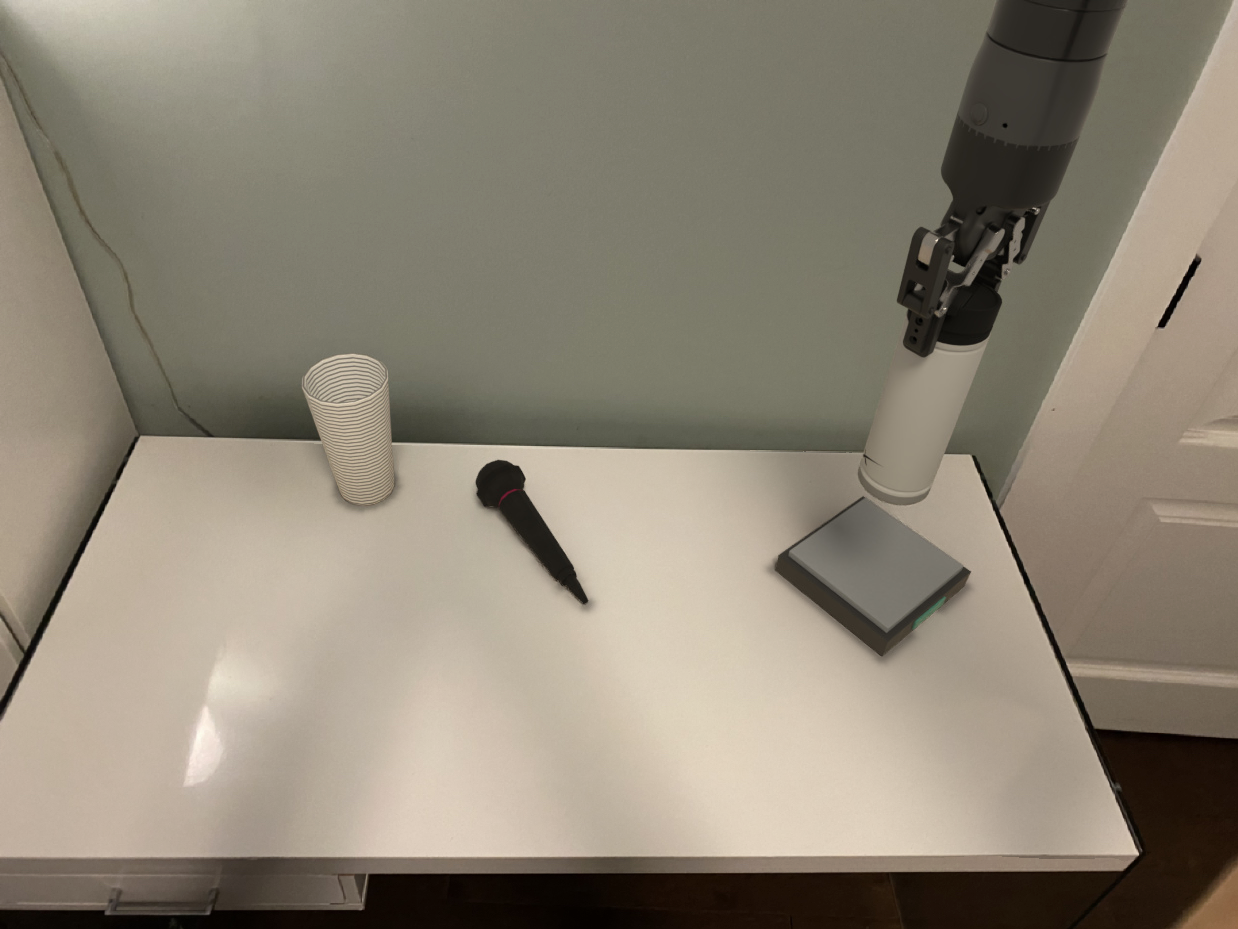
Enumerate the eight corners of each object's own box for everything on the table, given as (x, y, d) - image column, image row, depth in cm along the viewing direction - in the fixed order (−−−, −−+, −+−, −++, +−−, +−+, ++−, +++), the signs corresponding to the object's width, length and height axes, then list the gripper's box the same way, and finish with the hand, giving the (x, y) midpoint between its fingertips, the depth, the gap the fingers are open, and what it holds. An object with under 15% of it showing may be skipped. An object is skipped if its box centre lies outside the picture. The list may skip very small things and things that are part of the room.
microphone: (596, 613, 94) (501, 483, 104) (616, 576, 91) (516, 445, 101) (554, 627, 91) (460, 490, 101) (574, 589, 87) (474, 452, 97)
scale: (966, 587, 95) (975, 567, 93) (883, 658, 88) (891, 638, 86) (858, 510, 103) (864, 490, 100) (774, 570, 96) (779, 549, 93)
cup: (380, 523, 98) (358, 412, 88) (312, 501, 100) (283, 390, 90) (420, 473, 104) (404, 364, 94) (356, 453, 106) (333, 344, 96)
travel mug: (843, 488, 79) (903, 289, 65) (873, 447, 83) (935, 252, 69) (912, 520, 76) (989, 320, 63) (940, 476, 80) (1017, 279, 67)
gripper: (1011, 167, 52) (930, 395, 63) (1131, 108, 59) (1039, 323, 70) (903, 122, 56) (845, 345, 67) (1027, 72, 63) (956, 281, 74)
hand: (944, 333), depth 69 cm, fingers closed on travel mug, 6 cm apart
